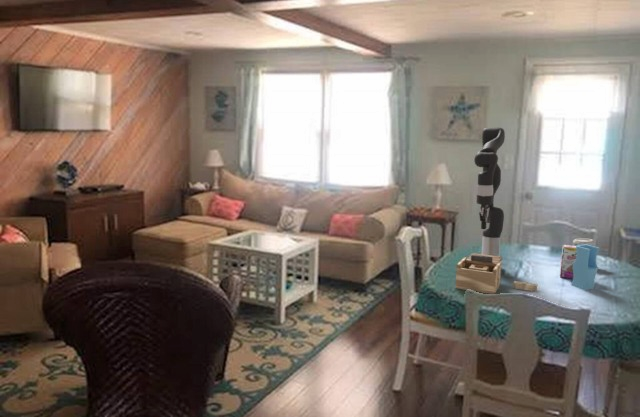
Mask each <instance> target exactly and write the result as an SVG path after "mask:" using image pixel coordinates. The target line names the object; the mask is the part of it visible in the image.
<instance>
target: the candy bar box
mask: <svg viewBox="0 0 640 417" xmlns="http://www.w3.org/2000/svg"><path fill="white" fill-rule="evenodd" d="M561 249H562V250H561V258H560V260H561V261H560V268H559V269H560V270H559V277H560V278H563V279H564V278H565V279H572V280H573V264H574V262H575V260H576V257H577V249H576V246H573V245H568V244H562V248H561Z"/></svg>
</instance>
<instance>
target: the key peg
mask: <svg viewBox="0 0 640 417" xmlns="http://www.w3.org/2000/svg"><path fill="white" fill-rule="evenodd" d="M512 288H513V289H516V290H524V291H530V292H536V293H537V290H538V283H532V282H525V281H524V282H523V281H518V280H517V281H516V280H514V281H513V287H512Z"/></svg>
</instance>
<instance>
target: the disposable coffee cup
mask: <svg viewBox="0 0 640 417" xmlns="http://www.w3.org/2000/svg"><path fill="white" fill-rule="evenodd" d="M583 244H586V245H591V246H595V243H594V239H592V238H574V239H573V240H572V246H577V245H583Z"/></svg>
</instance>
